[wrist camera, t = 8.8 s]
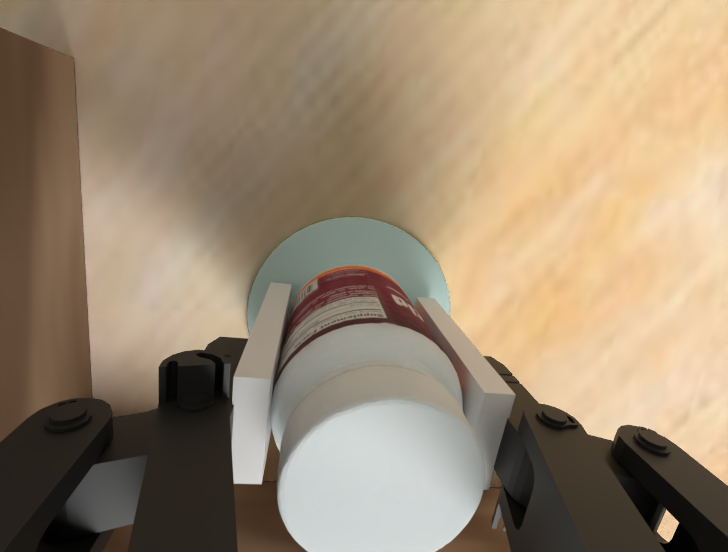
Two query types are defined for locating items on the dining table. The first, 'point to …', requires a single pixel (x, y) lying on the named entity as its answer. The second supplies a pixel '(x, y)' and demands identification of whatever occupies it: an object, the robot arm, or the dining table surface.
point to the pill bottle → (370, 422)
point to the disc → (350, 260)
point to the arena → (68, 283)
